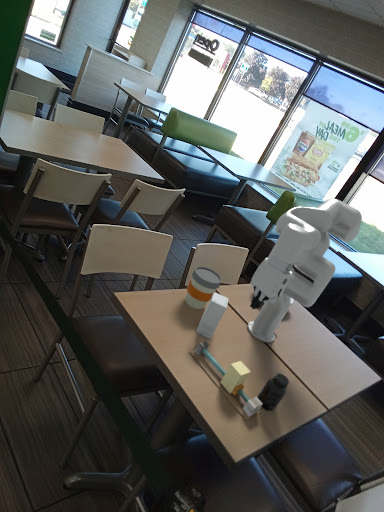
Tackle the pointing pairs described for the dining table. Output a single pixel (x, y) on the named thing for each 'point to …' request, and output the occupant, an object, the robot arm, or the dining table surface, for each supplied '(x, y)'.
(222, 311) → the skincare box
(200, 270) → the reusable coffee cup
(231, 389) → the pale yellow block
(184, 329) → the dining table surface
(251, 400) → the cable board
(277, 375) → the supplement bottle
